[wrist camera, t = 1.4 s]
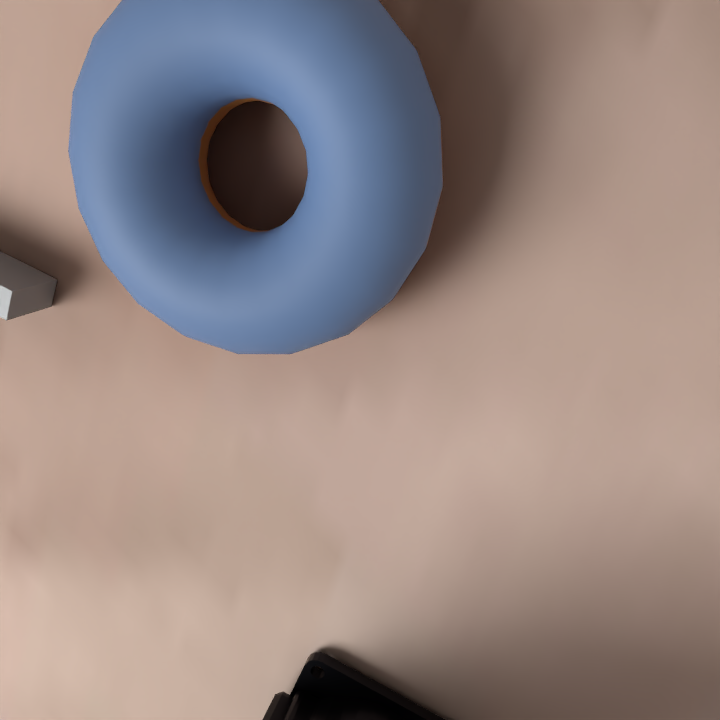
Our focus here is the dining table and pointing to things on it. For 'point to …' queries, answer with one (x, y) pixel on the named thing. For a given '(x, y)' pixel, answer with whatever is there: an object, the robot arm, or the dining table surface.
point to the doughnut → (190, 173)
